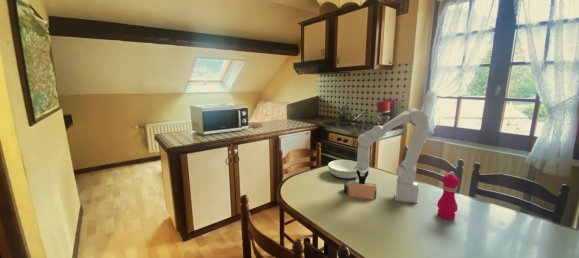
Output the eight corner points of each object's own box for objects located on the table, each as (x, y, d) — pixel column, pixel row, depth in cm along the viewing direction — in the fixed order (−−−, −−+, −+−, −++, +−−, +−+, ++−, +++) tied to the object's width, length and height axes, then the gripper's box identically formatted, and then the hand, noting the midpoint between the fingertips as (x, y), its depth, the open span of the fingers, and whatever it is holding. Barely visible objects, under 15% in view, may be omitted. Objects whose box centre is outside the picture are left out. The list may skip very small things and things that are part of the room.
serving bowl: (327, 168, 159) (327, 159, 158) (359, 170, 156) (360, 160, 155) (328, 181, 139) (328, 170, 138) (365, 183, 136) (366, 171, 135)
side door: (373, 198, 117) (374, 185, 116) (373, 199, 117) (374, 186, 115) (348, 195, 121) (349, 182, 120) (348, 196, 120) (349, 183, 119)
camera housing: (375, 192, 125) (375, 183, 124) (375, 199, 117) (376, 189, 116) (344, 188, 129) (345, 179, 129) (343, 194, 122) (343, 185, 121)
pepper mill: (453, 213, 105) (459, 169, 101) (458, 221, 98) (465, 175, 94) (434, 210, 107) (439, 167, 103) (438, 218, 100) (444, 173, 97)
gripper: (355, 153, 126) (354, 178, 128) (354, 162, 112) (352, 189, 115) (369, 155, 124) (368, 179, 126) (370, 163, 110) (368, 191, 113)
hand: (361, 184), depth 120 cm, fingers closed
